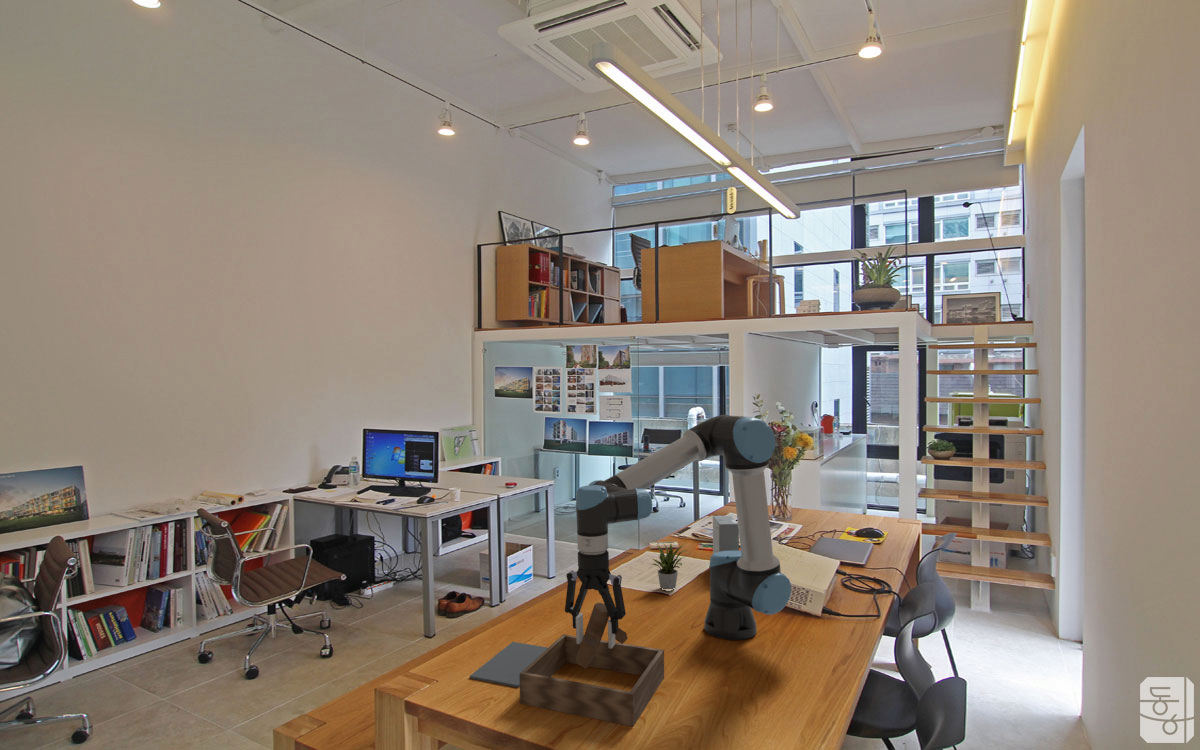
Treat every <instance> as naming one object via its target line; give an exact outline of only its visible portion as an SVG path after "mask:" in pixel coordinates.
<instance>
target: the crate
mask: <svg viewBox="0 0 1200 750" xmlns="http://www.w3.org/2000/svg"><path fill="white" fill-rule="evenodd" d="M581 643H582V642H581ZM581 643H580V644H577V643H576V635H571V634H570V635H569V634H564V633H563V634H561V635H560V636H559V638H557V639H556V640H555V641H554V642H553V643H552V644H551V645H550V646H548V648H547V649H546V650H545V651H544V652H543V653H542V654H541V655H540V656H538V657H537V658H536V659H535V660H534V661H533V662H532V663H531V664H530V665H528V666H527V667H526V668H525V669H524V670H523V671H522V672H521V673H520V687H519V704H521V705H525V706H531V707H537V708H540V709H547V710H551V711H556V712H560V713H566V714H569V715H570V714H571V715H575V716H578V717H585V718H589V719H590V718H591V719H596V720H599V721H605V722H610V723H613V724H614V723H615V724H619V725H624V726H629V727H634V726H635V724H636V723H637V721H638V720H639V718H640V717H641V715H642V714H643V712H644V710H645V709H646V707H647V705H648V704H649V703H650V701H651V699H652V698H653V696H654V695H655V693H656V692H657V690H658V688H659V687H660V685H661V684H662V682H663V680H664V678H665V650H664V649H661V648H656V647H655V648H654V647H647V646H642V645H641V646H640V645H633V644H629V643H623V644H621V643H620V642H617V641H615V645H614V646H613V647H612V649H610V648H609V647H608V640H602V639H601V641H600V644H599V646H598V647H597V649H596V652H595V655H594V658H593V661H592V663H591V664H590V665H589V666H588V668H596V669H600V670H601V669H602V670H606V671H607V670H608V671H613V672H619V673H624V674H630V675H637V676H640V677H639V678H638V679H637V680H636V683H635V684H634V685H633V687H632V688H631V689H630V691H628V690H623V689H619V688H612V687H607V686H601V685H596V684H591V683H585V682H580V681H574V680H569V679H563V678H560V677H559V678H557V677H553V675H554V674H555V673H556V672H557V671H558V670H559V669H560V668H562V666H564V664H565V663H567V664H573V665H578V666H580V665H579V664H578V663H576V662H575V660H576V657H577V654H578V651H579V649H580V646H581ZM648 702H649V703H648Z"/></svg>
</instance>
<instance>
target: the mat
mask: <svg viewBox="0 0 1200 750" xmlns="http://www.w3.org/2000/svg"><path fill="white" fill-rule="evenodd" d="M548 647H549V646H548ZM548 647H547V646H541V645H534V644H528V643H523V642H517V641H512V642H511V643H510V644H508V645H506V646H505V647H504V648H503V649H501V651H499V652H498V653H497V654H495V655H494V656H492V658H490V659H489V660H488V661H486V662H485V663H484V664H483V665H481V666H480V667H479V668H478V669H477V670H475V671H474V672H473V673H472V674H470V675H469V679H472V680H476V679H477V681H481V680H482V682H487V683H493V684H497V683H498V684H497V685H503V686H507V687H512V688H513V687H514V688H519V689H520V673H521V672H522V671H523V670H524V669H525V668H526V667H527V666H528V665H530V664H531V663H532V662H533V661H534V660H535V659H536V658H537V657H538V656H540V655H541V654H542V653H543V652H544V651H545V650H546V649H547V648H548ZM488 681H489V682H488Z"/></svg>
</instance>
